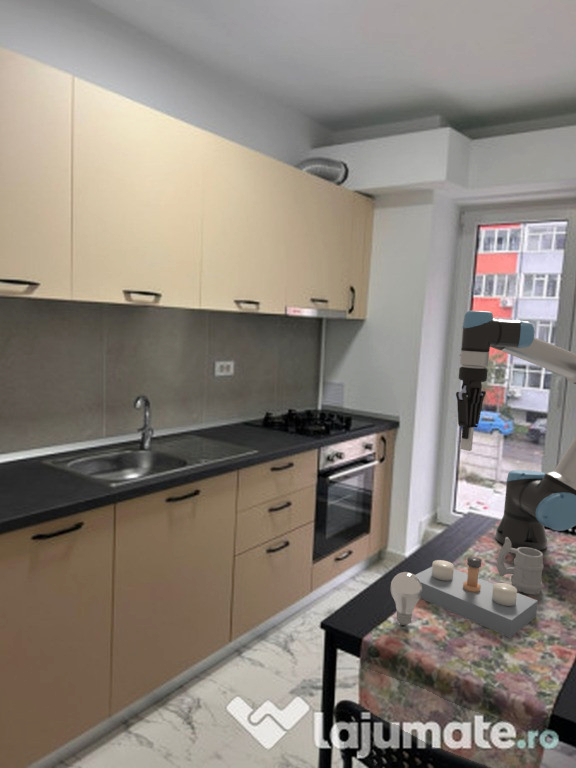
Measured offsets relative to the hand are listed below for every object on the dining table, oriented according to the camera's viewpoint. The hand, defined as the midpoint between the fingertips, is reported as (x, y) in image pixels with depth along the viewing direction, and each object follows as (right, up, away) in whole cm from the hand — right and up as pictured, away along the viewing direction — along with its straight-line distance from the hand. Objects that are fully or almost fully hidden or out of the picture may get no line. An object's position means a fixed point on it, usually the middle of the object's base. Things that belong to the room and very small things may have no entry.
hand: (466, 449), depth 161 cm
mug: (+10, -35, -11) cm, 38 cm away
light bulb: (-25, -35, -34) cm, 55 cm away
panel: (-6, -35, -23) cm, 42 cm away
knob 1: (-12, -34, -18) cm, 40 cm away
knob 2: (-1, -35, -29) cm, 46 cm away
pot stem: (-6, -31, -24) cm, 39 cm away
